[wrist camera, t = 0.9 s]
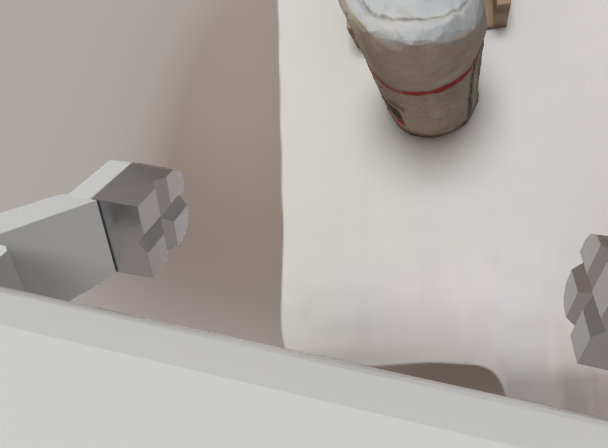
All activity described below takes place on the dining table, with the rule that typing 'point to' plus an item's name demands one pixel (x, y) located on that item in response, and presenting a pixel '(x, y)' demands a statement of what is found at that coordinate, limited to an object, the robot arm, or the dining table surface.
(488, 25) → the walnut trough
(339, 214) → the dining table surface
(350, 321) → the dining table surface
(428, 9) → the spray can
